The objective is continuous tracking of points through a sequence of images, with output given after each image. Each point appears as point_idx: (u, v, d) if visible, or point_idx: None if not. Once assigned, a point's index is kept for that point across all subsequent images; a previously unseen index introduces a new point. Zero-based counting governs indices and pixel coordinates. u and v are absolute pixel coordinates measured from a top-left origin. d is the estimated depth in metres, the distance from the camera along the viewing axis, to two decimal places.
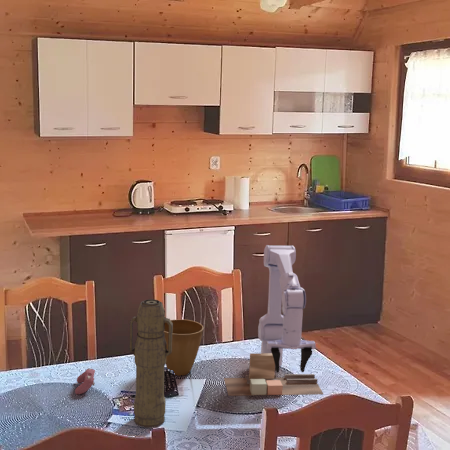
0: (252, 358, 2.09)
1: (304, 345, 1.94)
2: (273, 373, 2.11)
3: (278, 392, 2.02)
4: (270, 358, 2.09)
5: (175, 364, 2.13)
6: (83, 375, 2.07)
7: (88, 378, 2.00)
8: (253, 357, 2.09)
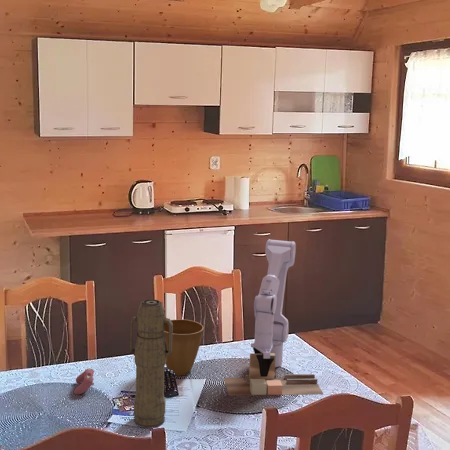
0: (252, 358, 2.09)
1: (259, 349, 2.06)
2: (273, 373, 2.11)
3: (278, 392, 2.02)
4: None
5: (175, 364, 2.13)
6: (82, 375, 2.06)
7: (87, 378, 2.00)
8: (253, 357, 2.09)
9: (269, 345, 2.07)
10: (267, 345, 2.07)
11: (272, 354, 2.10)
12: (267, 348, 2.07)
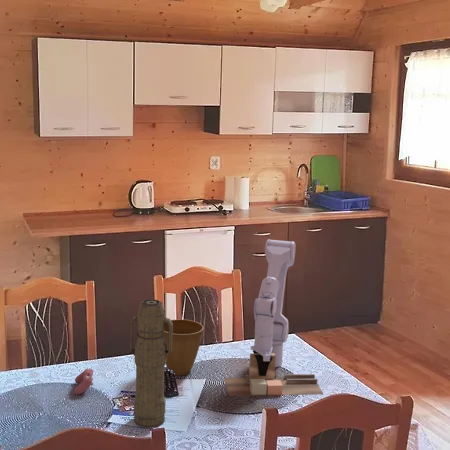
0: (252, 358, 2.09)
1: (259, 352, 2.06)
2: (273, 373, 2.11)
3: (278, 392, 2.02)
4: None
5: (175, 364, 2.13)
6: (81, 375, 2.06)
7: (86, 378, 2.00)
8: (253, 357, 2.09)
9: (269, 348, 2.07)
10: (267, 348, 2.07)
11: (272, 354, 2.10)
12: (267, 351, 2.07)
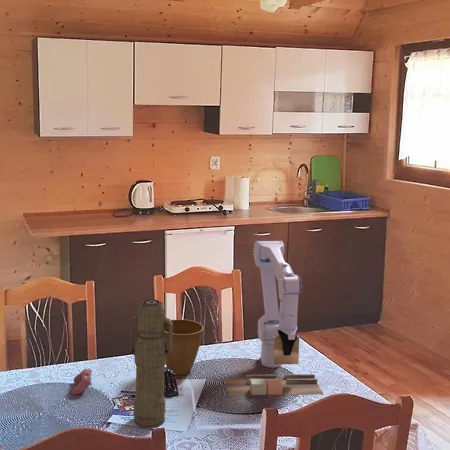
0: (276, 340, 2.08)
1: (283, 331, 2.05)
2: (297, 355, 2.10)
3: (278, 392, 2.02)
4: None
5: (175, 364, 2.13)
6: (80, 375, 2.06)
7: (85, 378, 1.99)
8: (276, 339, 2.08)
9: (294, 327, 2.07)
10: (292, 327, 2.06)
11: None
12: (292, 330, 2.06)
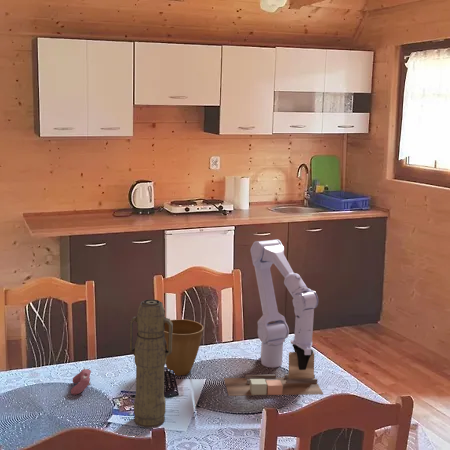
0: (291, 357, 2.10)
1: (299, 346, 2.07)
2: (312, 371, 2.12)
3: (278, 392, 2.02)
4: None
5: (175, 364, 2.13)
6: (79, 375, 2.06)
7: (84, 378, 1.99)
8: (292, 356, 2.10)
9: (309, 342, 2.08)
10: (307, 342, 2.08)
11: None
12: (307, 345, 2.08)
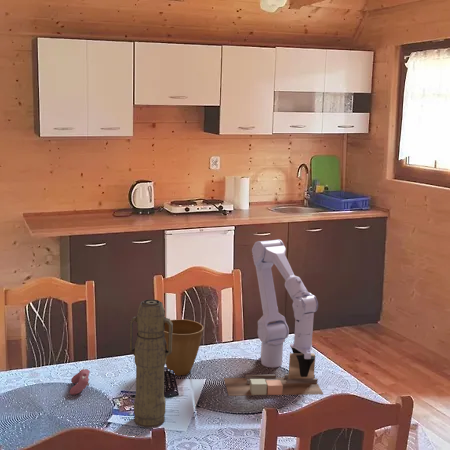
0: (292, 358, 2.10)
1: (299, 350, 2.07)
2: (313, 373, 2.12)
3: (278, 392, 2.02)
4: None
5: (175, 364, 2.13)
6: (78, 375, 2.06)
7: (83, 378, 1.99)
8: (293, 357, 2.10)
9: (309, 346, 2.09)
10: (307, 346, 2.08)
11: (312, 354, 2.12)
12: (307, 349, 2.08)
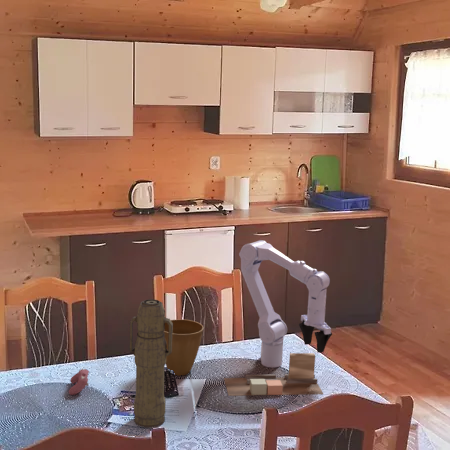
0: (292, 358, 2.10)
1: (317, 326, 2.11)
2: (313, 373, 2.12)
3: (278, 392, 2.02)
4: (310, 357, 2.11)
5: (175, 364, 2.13)
6: (77, 375, 2.06)
7: (82, 378, 1.99)
8: (293, 357, 2.10)
9: (323, 321, 2.13)
10: (322, 321, 2.13)
11: (312, 354, 2.12)
12: (323, 324, 2.13)
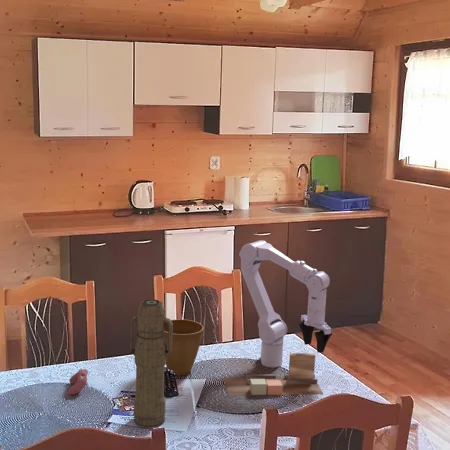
0: (292, 358, 2.10)
1: (317, 326, 2.11)
2: (313, 373, 2.12)
3: (278, 392, 2.02)
4: (310, 357, 2.11)
5: (175, 364, 2.13)
6: (76, 376, 2.06)
7: (81, 378, 1.99)
8: (293, 357, 2.10)
9: (323, 321, 2.13)
10: (322, 321, 2.13)
11: (312, 354, 2.12)
12: (323, 324, 2.13)
